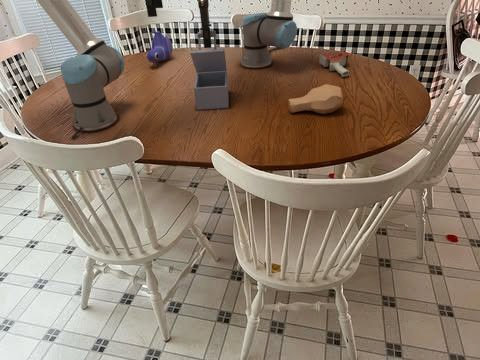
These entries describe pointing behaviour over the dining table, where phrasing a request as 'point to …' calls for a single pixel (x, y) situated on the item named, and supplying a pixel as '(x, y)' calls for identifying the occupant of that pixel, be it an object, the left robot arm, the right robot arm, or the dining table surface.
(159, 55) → the toy
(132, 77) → the dining table surface
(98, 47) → the left robot arm
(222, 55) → the lid
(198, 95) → the chest
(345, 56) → the grey red-topped piece
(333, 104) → the squash
